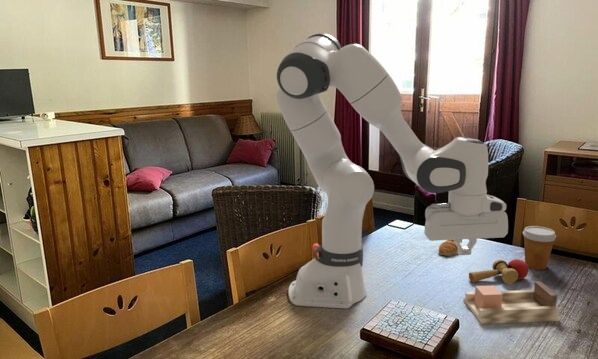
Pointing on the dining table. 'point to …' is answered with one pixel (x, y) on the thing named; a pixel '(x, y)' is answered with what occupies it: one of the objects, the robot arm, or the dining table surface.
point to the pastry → (448, 248)
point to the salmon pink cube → (487, 297)
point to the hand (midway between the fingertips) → (464, 254)
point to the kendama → (503, 271)
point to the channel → (519, 306)
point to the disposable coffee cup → (538, 246)
